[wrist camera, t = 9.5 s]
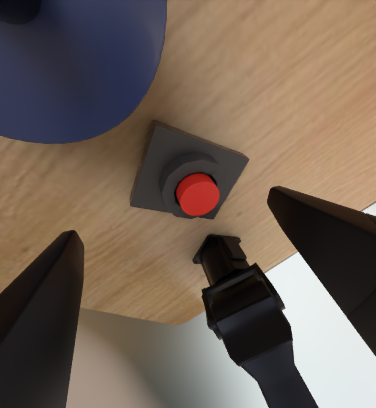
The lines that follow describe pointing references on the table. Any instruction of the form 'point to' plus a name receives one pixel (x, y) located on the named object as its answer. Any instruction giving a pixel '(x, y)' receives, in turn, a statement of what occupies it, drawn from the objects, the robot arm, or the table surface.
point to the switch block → (182, 169)
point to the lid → (75, 65)
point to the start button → (197, 194)
